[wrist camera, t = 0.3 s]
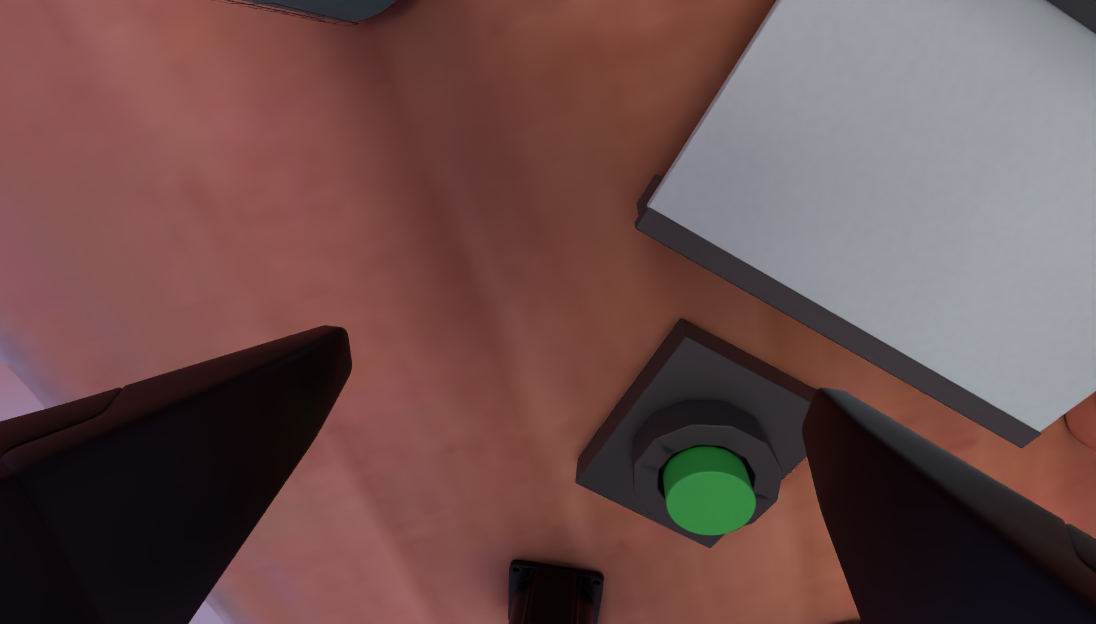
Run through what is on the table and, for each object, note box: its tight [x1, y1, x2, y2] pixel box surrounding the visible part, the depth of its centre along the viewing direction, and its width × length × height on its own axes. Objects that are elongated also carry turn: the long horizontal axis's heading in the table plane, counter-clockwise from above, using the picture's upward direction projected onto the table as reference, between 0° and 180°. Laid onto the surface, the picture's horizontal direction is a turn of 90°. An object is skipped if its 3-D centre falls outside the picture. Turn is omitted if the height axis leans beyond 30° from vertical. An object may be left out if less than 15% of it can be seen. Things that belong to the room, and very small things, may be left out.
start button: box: [663, 446, 756, 535], centre depth 23 cm, size 4×4×2 cm
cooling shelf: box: [635, 0, 1096, 448], centre depth 18 cm, size 13×20×4 cm, turn 62°
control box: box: [575, 319, 817, 548], centre depth 25 cm, size 11×9×4 cm
